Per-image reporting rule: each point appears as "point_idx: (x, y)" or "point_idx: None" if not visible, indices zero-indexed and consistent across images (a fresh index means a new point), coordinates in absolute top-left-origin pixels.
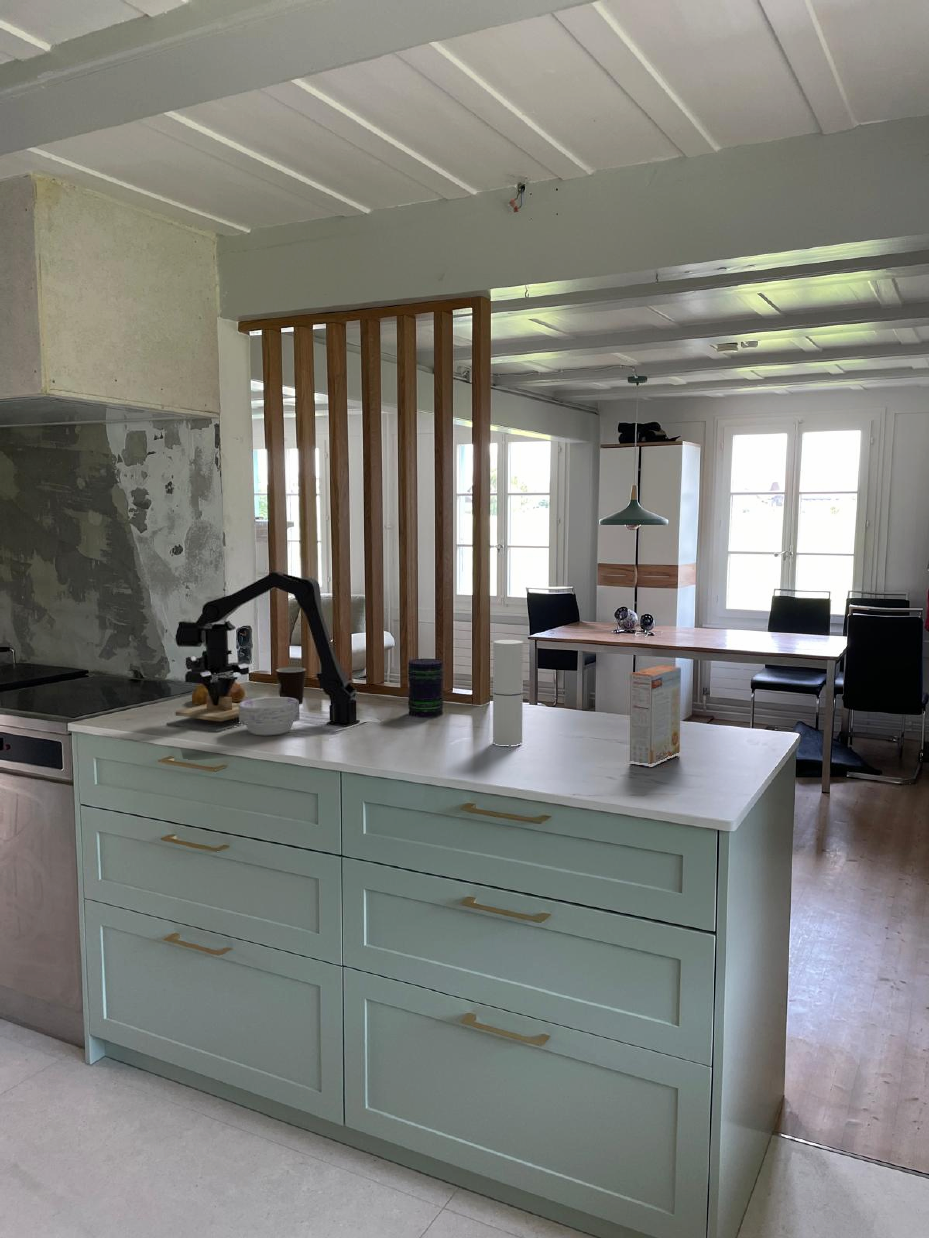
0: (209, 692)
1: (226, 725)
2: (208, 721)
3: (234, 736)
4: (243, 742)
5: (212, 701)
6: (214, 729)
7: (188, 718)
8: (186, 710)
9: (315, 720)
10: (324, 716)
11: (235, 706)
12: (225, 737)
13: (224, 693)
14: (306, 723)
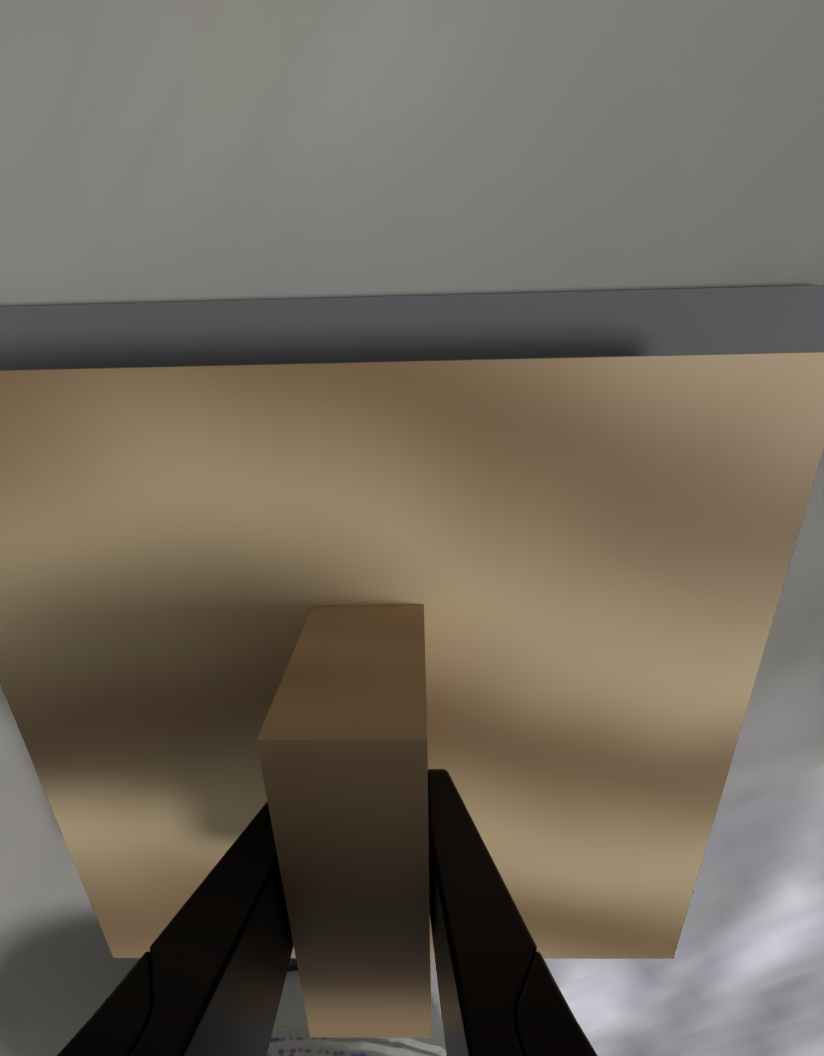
0: (127, 1003)
1: None
2: None
3: (129, 967)
4: None
5: (260, 817)
6: None
7: (237, 339)
8: (47, 462)
9: (697, 1050)
10: (820, 1038)
11: (579, 787)
12: (75, 949)
13: (443, 1003)
14: (605, 1051)
